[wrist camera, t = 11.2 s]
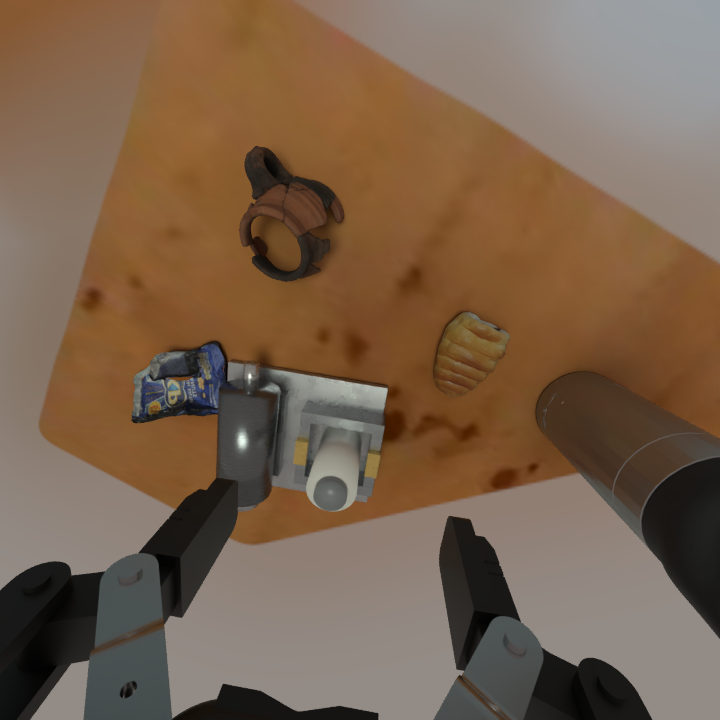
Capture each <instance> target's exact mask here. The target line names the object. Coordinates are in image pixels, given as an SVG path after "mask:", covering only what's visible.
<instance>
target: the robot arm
mask: <svg viewBox="0 0 720 720" xmlns="http://www.w3.org/2000/svg"><path fill="white" fill-rule="evenodd" d="M536 419H537V422H538V425H539V427H540V429H541V431H542V432H543V433H544V434H545V435H546V436H547V437H548V438H549V440H550V441H551V442H552V443H553V444H554V445H555V446H556V447H557V449H558V450H559V451H560V452H561V453H562V454H563V455H564V456H565V458H566V459H567V460H568V461H569V462H570V463H571V464H572V465H573V466H574V467H575V468H576V470H577V471H578V472H579V473H580V474H581V475H582V476H583V477H584V478H585V479H586V481H587V482H588V483H589V484H590V485H591V486H592V487H593V488H594V489H595V490H596V491H597V493H598V494H599V495H600V496H601V497H602V498H603V499H604V500H605V501H606V502H607V504H608V505H609V506H611V508H612V509H613V510H614V511H615V512H616V513H617V515H619V517H620V518H621V519H622V520H623V521H624V522H625V523H626V524H627V525H628V526H629V527H630V529H631V530H632V531H633V532H634V533H635V534H636V535H637V536H638V537H639V538H640V539H641V541H642V542H643V543H644V544H645V545H646V546H647V547H648V548H649V549H650V550H651V551H652V552H653V554H654V555H655V556H656V557H657V558H658V559H659V560H660V561H661V562H662V564H663V566H664V569H665V570H666V572H667V574H668V576H669V577H670V579H671V580H672V582H673V583H674V584H675V586H676V587H677V588H678V590H679V591H680V592H681V593H682V594H683V596H684V597H685V598H686V599H687V600H688V601H689V603H690V604H691V605H692V606H693V607H694V608H695V610H696V611H697V612H698V613H699V614H700V615H701V617H702V618H703V619H704V620H705V621H706V623H707V624H708V625H709V626H710V627H711V629H712V630H713V631H714V632H715V634H716V635H717V636H718V637H719V638H720V438H717V437H716V436H714V435H712V434H710V433H708V432H706V431H704V430H703V429H701V428H699V427H697V426H695V425H693V424H691V423H689V422H688V421H686V420H684V419H682V418H680V417H678V416H676V415H674V414H673V413H671V412H669V411H667V410H665V409H663V408H661V407H660V406H658V405H656V404H654V403H652V402H650V401H648V400H646V399H645V398H643V397H641V396H639V395H637V394H635V393H633V392H632V391H630V390H628V389H626V388H624V387H623V386H621V385H619V384H617V383H615V382H613V381H611V380H609V379H607V378H606V377H604V376H601V375H599V374H596V373H591V372H576V373H571V374H568V375H565V376H563V377H560V378H559V379H557V380H556V381H554V382H553V383H551V384H550V385H549V386H548V387H547V388H546V389H545V391H544V392H543V393H542V395H541V397H540V399H539V401H538V404H537V408H536ZM237 515H238V481H237V480H230V479H224V478H216V479H215V480H214V481H213V483H212V484H211V485H210V486H209V488H208V489H207V490H202V489H199V490H197V491H196V492H194V493H193V494H191V495H189V496H188V497H186V498H185V499H184V501H183V502H182V503H181V504H180V505H179V506H178V508H177V510H175V511H174V512H173V513H172V515H171V516H170V517H169V519H167V520H166V522H165V523H164V524H163V525H162V526H161V527H160V528H159V530H158V531H157V532H156V533H155V534H154V536H153V537H152V538H151V539H150V540H149V541H148V542H147V544H146V545H145V546H144V547H143V548H142V549H141V551H140V552H139V553H138V554H133V555H129V556H126V557H124V558H122V559H120V560H118V561H117V562H115V563H114V564H113V565H111V566H110V567H109V568H108V569H107V570H106V571H104V572H98V573H89V574H81V575H73V576H71V569H70V567H69V566H68V565H67V564H66V563H63V562H56V561H55V562H47V563H43V564H39V565H37V566H34V567H32V568H30V569H27V570H26V571H24V572H22V573H21V574H19V575H18V576H16V577H15V578H14V579H13V580H11V581H10V582H9V583H8V584H7V585H6V586H5V587H3V588H2V589H1V590H0V720H30V719H31V718H32V716H33V715H34V714H35V712H36V711H37V710H38V708H39V707H40V705H41V704H42V703H43V701H44V700H45V699H46V697H47V696H48V694H49V693H50V691H51V690H52V689H53V688H54V686H55V685H56V683H57V682H58V681H59V680H60V678H61V677H62V675H63V674H64V673H65V671H66V670H67V668H68V667H69V666H70V665H71V663H76V662H81V661H87V660H89V668H88V678H87V689H86V700H85V710H84V720H378V713H374V712H369V711H363V710H358V709H353V708H347V707H342V706H336V707H329V708H322V709H315V710H308V711H302V712H301V711H300V712H298V711H295V710H293V709H291V708H289V707H287V706H286V705H284V704H282V703H280V702H279V701H277V700H275V699H274V698H272V697H270V696H268V695H267V694H265V693H263V692H261V691H258V690H253V689H248V688H242V687H237V686H232V685H227V684H223V685H222V688H221V690H220V693H219V695H218V698H217V699H215V700H210V701H207V702H203V703H200V704H198V705H195V706H193V707H191V708H189V709H187V710H185V711H183V712H182V713H180V714H178V715H177V716H175V717H174V718H173V719H172V712H171V700H170V689H169V677H168V665H167V653H166V641H165V630H164V624H165V623H166V621H167V620H168V618H169V616H175V617H180V618H182V617H183V615H184V613H185V612H186V610H187V609H188V607H189V605H190V604H191V602H192V600H193V598H194V597H195V595H196V593H197V591H198V590H199V588H200V586H201V585H202V583H203V581H204V579H205V578H206V576H207V574H208V573H209V571H210V569H211V567H212V566H213V564H214V562H215V560H216V559H217V557H218V555H219V554H220V552H221V550H222V548H223V547H224V545H225V543H226V542H227V540H228V538H229V536H230V535H231V533H232V531H233V529H234V527H235V524H236V520H237ZM439 566H440V573H441V578H442V585H443V591H444V597H445V602H446V608H447V615H448V621H449V627H450V633H451V639H452V645H453V651H454V657H455V663H456V669H457V670H463V671H464V673H463V674H462V676H460V675H459V676H458V677H457V679H456V680H455V682H454V684H453V685H452V687H451V689H450V691H449V693H448V694H447V696H446V698H445V700H444V702H443V703H442V706H441V707H440V709H439V711H438V712H437V714H436V716H435V718H434V720H652V719H651V716H650V715H649V713H648V711H647V709H646V707H645V705H644V704H643V701H642V700H641V698H640V696H639V694H638V692H637V691H636V689H635V688H634V687H633V685H632V684H631V683H630V682H629V681H628V679H627V678H626V677H624V675H623V674H621V673H620V672H619V671H618V670H617V669H615V668H614V667H613V666H611V665H609V664H608V663H606V662H604V661H602V660H599V659H596V658H586V659H583V660H582V661H581V662H580V664H579V666H578V667H577V666H575V665H573V664H571V663H569V662H567V661H565V660H563V659H561V658H559V657H557V656H555V655H553V654H551V653H549V652H547V651H546V650H545V649H543V648H542V647H541V645H540V643H539V641H538V639H537V638H536V636H535V635H534V634H533V633H532V632H531V631H530V629H529V628H528V627H526V626H525V625H524V624H523V623H521V621H520V618H519V616H518V613H517V610H516V607H515V605H514V602H513V599H512V596H511V594H510V591H509V588H508V585H507V583H506V580H505V577H503V572H502V569H501V566H499V561H498V558H497V555H496V553H495V550H494V548H493V547H492V546H491V545H490V544H489V542H488V541H487V540H486V538H485V537H481V536H476V535H475V532H474V529H473V526H472V523H471V520H469V519H465V518H459V517H453V516H449V517H448V519H447V523H446V527H445V531H444V535H443V540H442V543H441V547H440V555H439Z"/></svg>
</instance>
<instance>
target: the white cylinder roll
mask: <svg viewBox="0 0 720 720" xmlns="http://www.w3.org/2000/svg"><path fill="white" fill-rule="evenodd" d="M361 445H362V441H361V437H360V435H359V433H358V432H357V431H352V430H346V429H340V428H334V427H329V428H327V429H326V430H325V432H324V433H323V435H322V438H321V441H320V444H319V447H318V450H317V453H316V456H315V459H314V462H313V466H312V469H311V472H310V475H309V478H308V481H307V485H306V492H307V495H308V498H309V499H310V501H311V502H312V503H313V504H314V505H315V506H317V507H318V508H320V509H323V510H326V511H340V510H344V509H346V508H347V507H349V506H350V505H351V504H352V503H353V502H354V500H355V498H356V495H357V486H358V476H359V466H360V456H361Z"/></svg>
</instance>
